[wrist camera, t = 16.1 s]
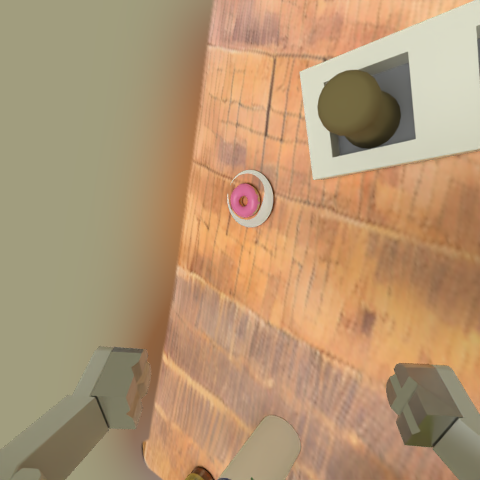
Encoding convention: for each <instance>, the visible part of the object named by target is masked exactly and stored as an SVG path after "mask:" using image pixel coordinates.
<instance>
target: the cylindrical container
mask: <svg viewBox="0 0 480 480" xmlns="http://www.w3.org/2000/svg"><path fill="white" fill-rule="evenodd" d="M300 449H301V443H300V439H299V437H298V434H297V433H296V431H295V430H294V428H293V427H292V426H291V425H290V424H289V423H288V422H287V421H285V420H284V419H282V418H280V417H278V416H274V415H270V416H266V417H265V418H264V419H263V420H262V421H261V423H260V424H259V425H258V426H257V428H256V429H255V430H254V432H253V433H252V434H251V436H250V437H249V438H248V440H247V441H246V442H245V444H244V445H243V446H242V448H241V449H240V450H239V452H238V453H237V454H236V456H235V457H234V458H233V460H232V461H231V462H230V464H229V465H228V466H227V468H226V469H225V470H224V472H223V473H222V474H221V476H220V477H219V478H218V480H285V479H286V477H287V475H288V473H289V472H290V470H291V468H292V466H293V464H294V462H295V460H296V458H297V456H298V455H299V453H300Z"/></svg>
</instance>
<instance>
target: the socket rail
mask: <svg viewBox="0 0 480 480" xmlns="http://www.w3.org/2000/svg"><path fill="white" fill-rule="evenodd" d="M346 70H360V71H364V72H367V73H369V74H370V75H371V76H372V77H374V78H375V80H376V81H377V83H378V85H379V87H380V89H381V91H384V92H386V93H389V94H390V95H391V96H393V97H394V98H395V99H396V101H397V102H398V104H399V106H400V112H401V119H400V123H399V126H398V128H397V130H396V132H395V134H394V135H393V136H392V137H391V138H390V139H389V140H388V141H387V142H385V143H384V144H382V145H380V146H378V147H374V148H370V149H366V148H359V147H357V146H354V145H353V144H352V143H350V142H349V141H348V140H347V139H346V137H345V136H339V135H336V134H334V133H331V132H329V131H328V130H327V129H326V128H325V127H324V126H323V124H322V122H321V120H320V118H319V116H318V109H317V106H318V99H319V96H320V94H321V91H322V89H323V88H324V86H325V85H326V84H327V82H328V81H329V80H330V79H332V78H333V77H334V76H336V75H337V74H339V73H341V72H344V71H346ZM300 79H301V87H302V95H303V103H304V111H305V119H306V127H307V135H308V143H309V151H310V159H311V167H312V175H313V180H324V179H329V178H335V177H340V176H346V175H351V174H356V173H362V172H367V171H373V170H378V169H384V168H389V167H395V166H400V165H406V164H411V163H416V162H422V161H427V160H433V159H438V158H444V157H449V156H455V155H460V154H466V153H471V152H477V151H480V0H475V1H472V2H470V3H467V4H465V5H462V6H460V7H457V8H455V9H452V10H450V11H448V12H445V13H443V14H440V15H438V16H435V17H433V18H430V19H428V20H425V21H423V22H421V23H418V24H416V25H413V26H411V27H408V28H406V29H403V30H401V31H399V32H396V33H394V34H391V35H389V36H386V37H384V38H381V39H379V40H376V41H374V42H372V43H369V44H367V45H364V46H362V47H359V48H357V49H354V50H352V51H349V52H347V53H345V54H342V55H340V56H337V57H335V58H332V59H330V60H327V61H325V62H323V63H320V64H318V65H315V66H313V67H310V68H308V69H305V70H303V71H300Z"/></svg>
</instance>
